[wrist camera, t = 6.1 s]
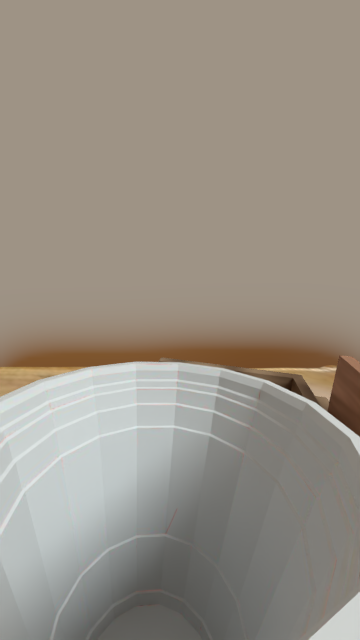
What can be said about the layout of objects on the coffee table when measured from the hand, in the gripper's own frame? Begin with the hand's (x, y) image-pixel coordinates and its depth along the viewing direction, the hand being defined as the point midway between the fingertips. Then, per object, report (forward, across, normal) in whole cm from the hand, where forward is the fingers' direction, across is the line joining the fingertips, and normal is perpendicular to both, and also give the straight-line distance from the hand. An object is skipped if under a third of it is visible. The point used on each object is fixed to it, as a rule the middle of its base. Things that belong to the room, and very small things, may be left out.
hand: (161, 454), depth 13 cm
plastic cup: (-5, 0, -7) cm, 8 cm away
